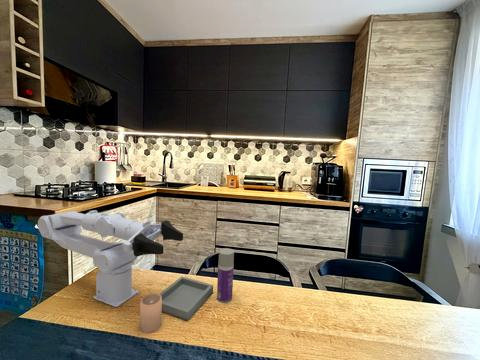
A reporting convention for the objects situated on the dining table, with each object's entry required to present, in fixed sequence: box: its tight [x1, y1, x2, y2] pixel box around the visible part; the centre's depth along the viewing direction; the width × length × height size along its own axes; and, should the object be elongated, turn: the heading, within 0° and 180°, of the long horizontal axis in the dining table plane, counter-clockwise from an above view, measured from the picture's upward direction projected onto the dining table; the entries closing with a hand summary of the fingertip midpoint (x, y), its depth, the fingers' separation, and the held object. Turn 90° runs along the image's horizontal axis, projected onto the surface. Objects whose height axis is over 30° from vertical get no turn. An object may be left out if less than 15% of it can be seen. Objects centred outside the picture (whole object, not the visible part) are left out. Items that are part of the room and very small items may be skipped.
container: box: [216, 247, 235, 304], centre depth 68 cm, size 5×5×15 cm
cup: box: [139, 293, 163, 334], centre depth 56 cm, size 5×5×7 cm
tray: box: [159, 275, 214, 322], centre depth 67 cm, size 12×14×2 cm
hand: (173, 243), depth 58 cm, fingers open, 7 cm apart
